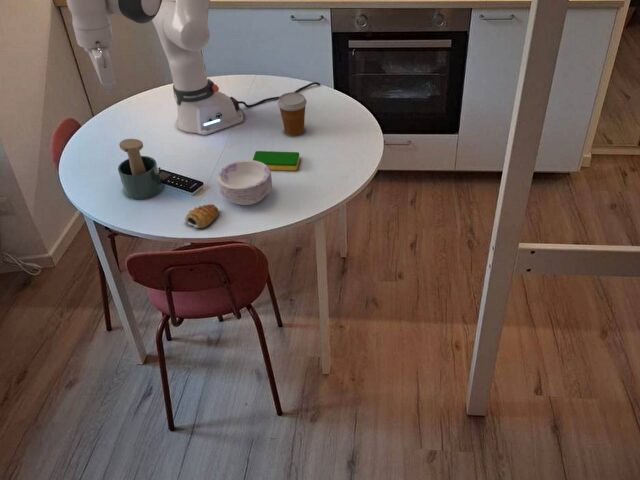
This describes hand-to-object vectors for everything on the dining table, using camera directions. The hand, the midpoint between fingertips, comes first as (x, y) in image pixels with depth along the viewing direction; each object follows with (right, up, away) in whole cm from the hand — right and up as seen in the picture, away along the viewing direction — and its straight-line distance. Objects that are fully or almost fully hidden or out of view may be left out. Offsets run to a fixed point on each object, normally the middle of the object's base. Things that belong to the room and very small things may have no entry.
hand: (107, 87), depth 163 cm
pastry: (+24, -35, +8) cm, 43 cm away
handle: (+3, -25, +19) cm, 31 cm away
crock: (+3, -25, +19) cm, 31 cm away
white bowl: (+35, -27, +16) cm, 47 cm away
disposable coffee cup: (+46, -3, +44) cm, 63 cm away
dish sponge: (+42, -16, +29) cm, 53 cm away
